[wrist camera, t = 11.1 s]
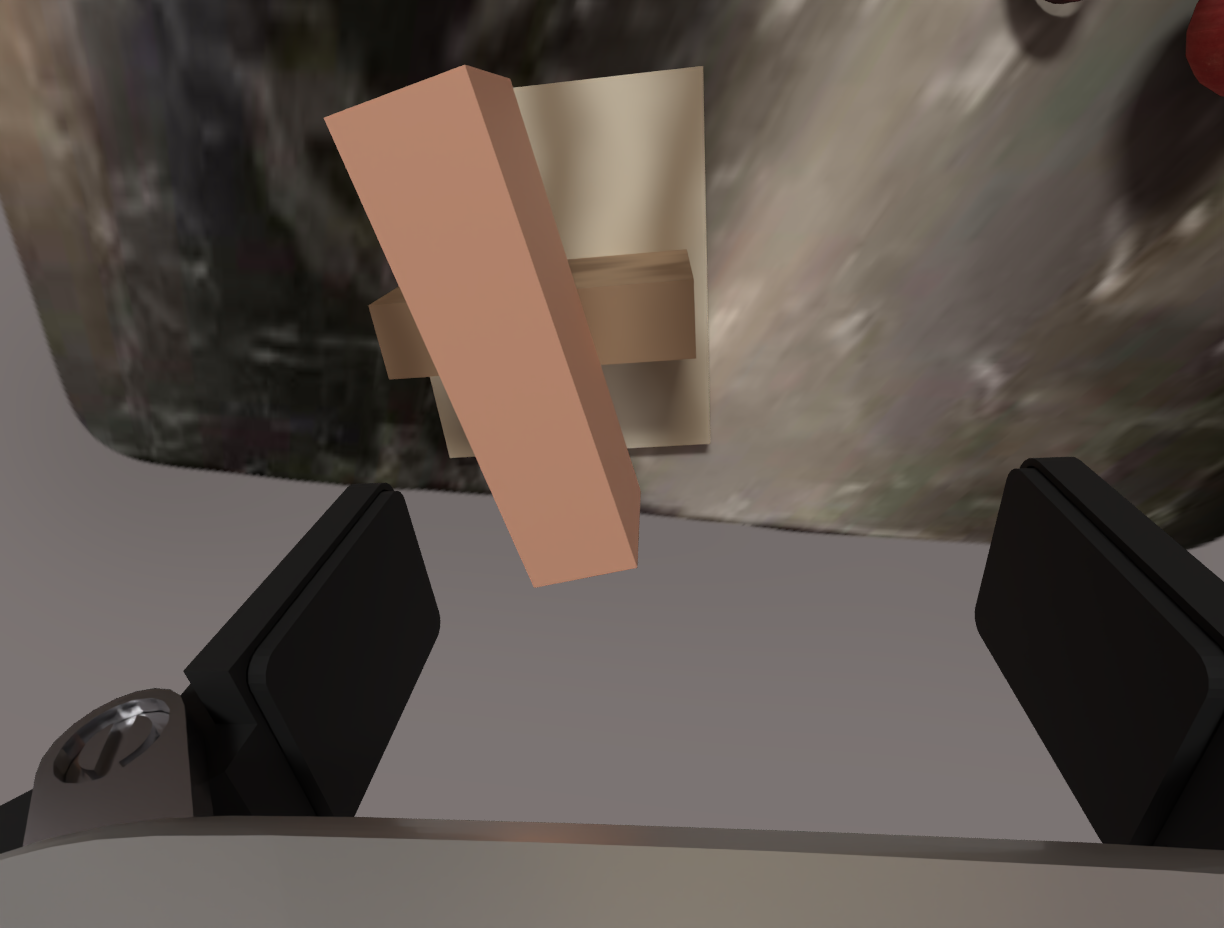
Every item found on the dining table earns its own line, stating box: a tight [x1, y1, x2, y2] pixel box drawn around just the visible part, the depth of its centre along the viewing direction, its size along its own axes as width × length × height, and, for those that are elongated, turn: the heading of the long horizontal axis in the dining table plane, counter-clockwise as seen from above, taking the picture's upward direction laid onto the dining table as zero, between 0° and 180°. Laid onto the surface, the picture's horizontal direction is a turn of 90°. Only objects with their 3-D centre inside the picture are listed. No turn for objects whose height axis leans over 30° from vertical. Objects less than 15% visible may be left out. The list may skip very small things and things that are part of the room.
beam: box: [324, 65, 641, 588], centre depth 24 cm, size 4×18×6 cm, turn 16°
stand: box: [369, 66, 710, 458], centre depth 30 cm, size 16×19×8 cm
